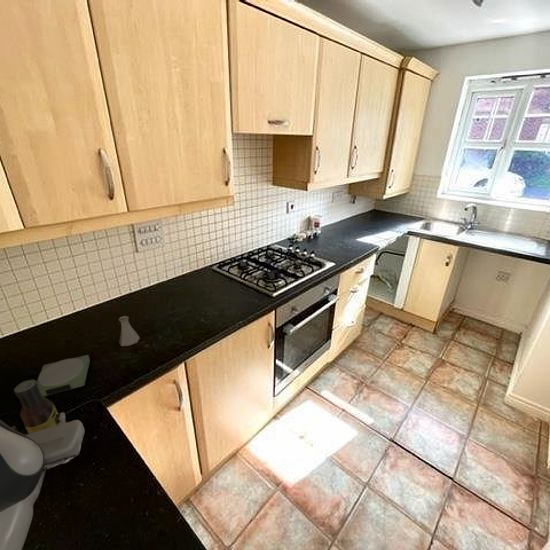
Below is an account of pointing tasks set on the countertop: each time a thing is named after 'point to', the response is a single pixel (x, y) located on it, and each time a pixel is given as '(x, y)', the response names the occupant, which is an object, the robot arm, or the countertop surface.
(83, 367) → the scale
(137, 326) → the countertop surface
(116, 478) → the countertop surface
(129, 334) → the flask
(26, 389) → the sauce bottle
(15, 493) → the robot arm
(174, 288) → the countertop surface
